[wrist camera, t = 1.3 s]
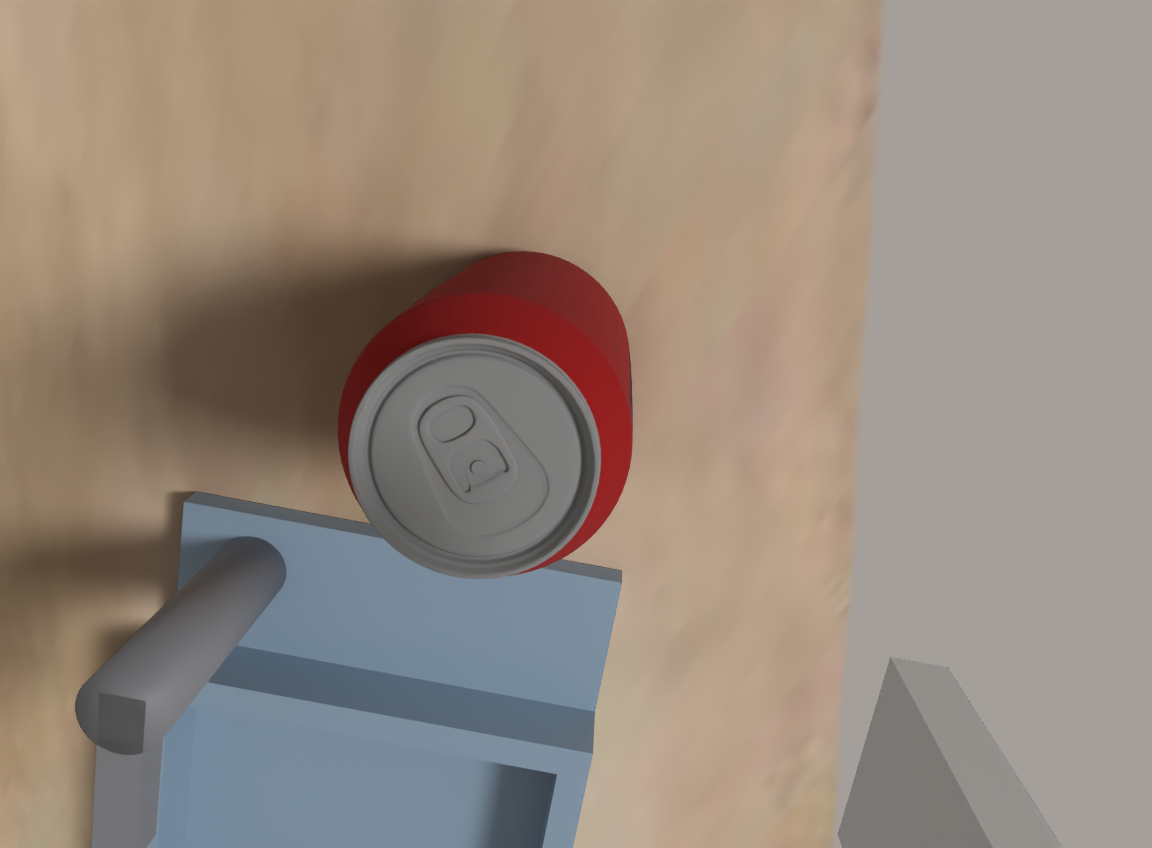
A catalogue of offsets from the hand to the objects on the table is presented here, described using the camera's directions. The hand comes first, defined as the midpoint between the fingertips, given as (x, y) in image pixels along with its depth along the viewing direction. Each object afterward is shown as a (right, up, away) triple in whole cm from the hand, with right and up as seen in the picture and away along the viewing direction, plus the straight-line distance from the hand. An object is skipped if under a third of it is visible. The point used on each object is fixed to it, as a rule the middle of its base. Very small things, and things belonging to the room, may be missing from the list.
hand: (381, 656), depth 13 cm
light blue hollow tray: (-5, -9, +24) cm, 26 cm away
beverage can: (+1, +5, +19) cm, 20 cm away
